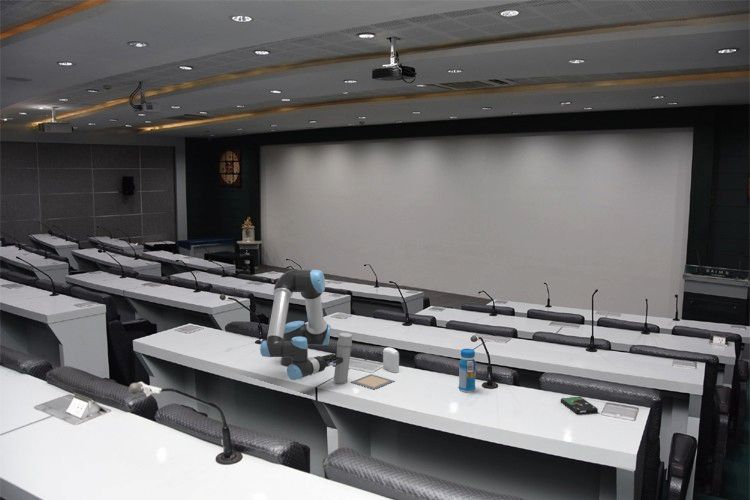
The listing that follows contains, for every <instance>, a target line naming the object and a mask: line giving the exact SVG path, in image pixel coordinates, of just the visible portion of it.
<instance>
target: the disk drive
mask: <svg viewBox="0 0 750 500" xmlns="http://www.w3.org/2000/svg"><path fill="white" fill-rule="evenodd" d="M560 403H561V404H562V405H563V406H565V407H566V408H567V409H569V410H570V411H571V412H572V413H574V414H575V415H577V416H579V415H580V416H581V415H591V414H595V415H596V414H598V413H599V412H598V411H599V408H597V406H594V405H593V404H592V403H590V402H589V401H587V400H586V399H585V398H583V397H582V396H570V397H562V398H560Z"/></svg>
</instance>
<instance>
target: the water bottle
mask: <svg viewBox="0 0 750 500" xmlns="http://www.w3.org/2000/svg"><path fill="white" fill-rule="evenodd" d="M352 336H353V335H352V334H351V333H349V332H340V333H339V334H338V339H337V342H336V344H337V346H336V353H337V354H336V357H339V358H343V362H342V363H340V364H338V365H336V366H335V367H334V374H333V382H335V383H337V384H345V383H347V382H348V378H349V369H350V361H351V351H352V346H353V343H352V342H353V341H352V339H353V337H352Z"/></svg>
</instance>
